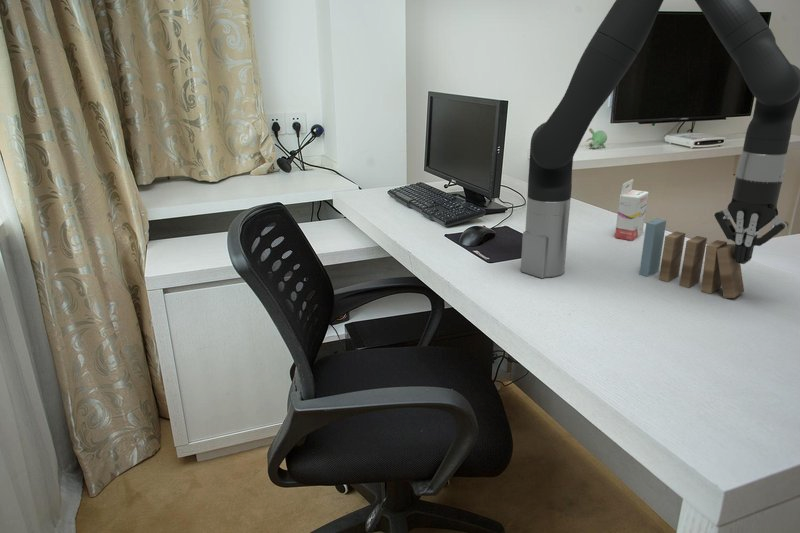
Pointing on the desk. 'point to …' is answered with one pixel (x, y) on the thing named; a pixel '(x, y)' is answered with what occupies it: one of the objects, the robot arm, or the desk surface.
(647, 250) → the end tile
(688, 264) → the tile
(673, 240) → the tile
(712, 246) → the tile
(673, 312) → the desk surface
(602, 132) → the frog
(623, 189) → the ink cartridge box
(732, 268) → the tile
